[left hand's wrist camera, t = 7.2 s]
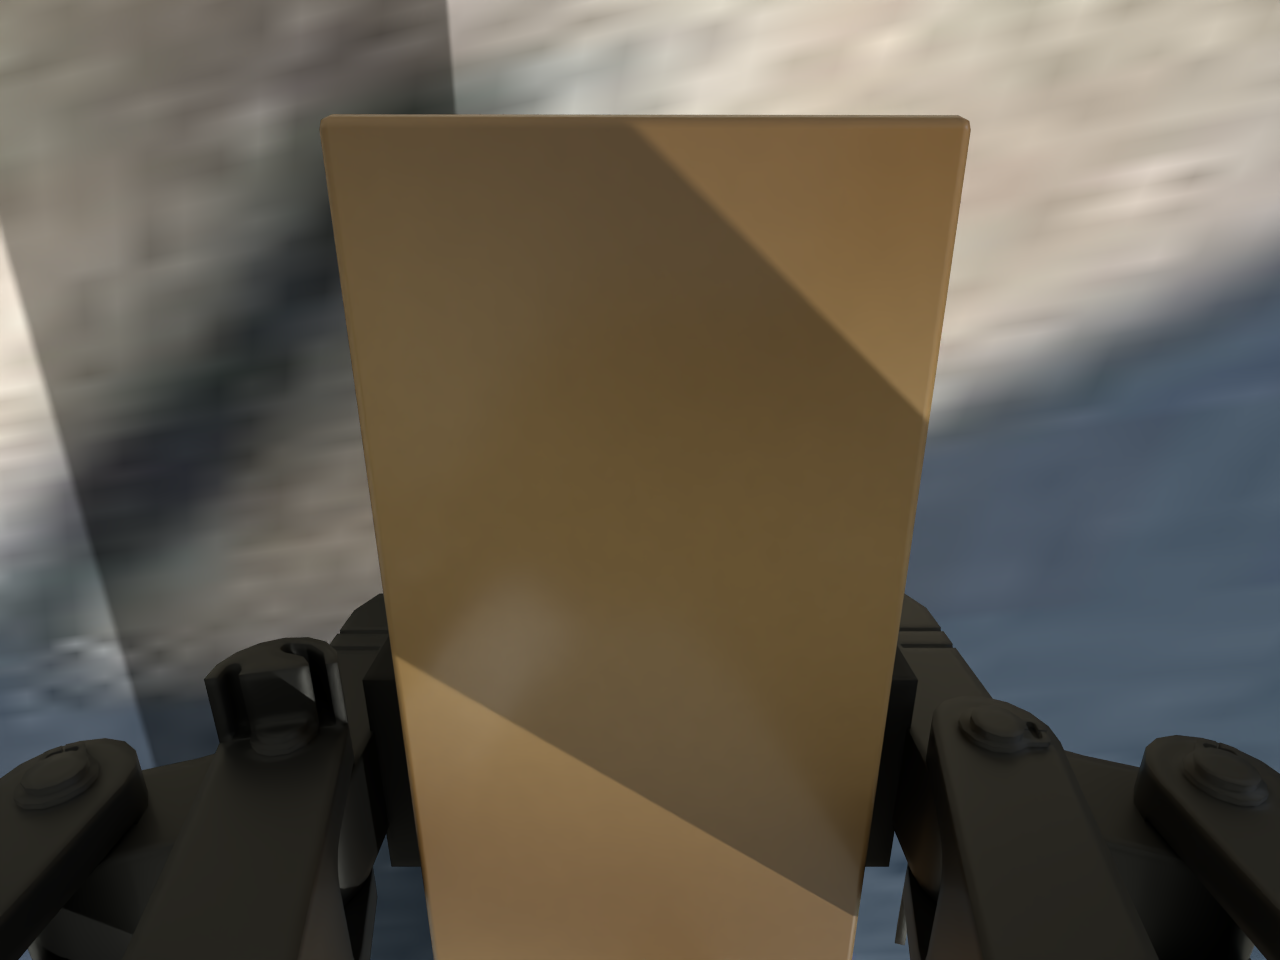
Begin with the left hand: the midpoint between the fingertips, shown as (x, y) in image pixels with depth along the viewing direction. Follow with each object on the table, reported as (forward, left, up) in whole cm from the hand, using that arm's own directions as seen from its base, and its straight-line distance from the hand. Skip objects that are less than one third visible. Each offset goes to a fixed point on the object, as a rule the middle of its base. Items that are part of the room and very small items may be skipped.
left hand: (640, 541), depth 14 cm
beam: (+3, +27, -1) cm, 27 cm away
